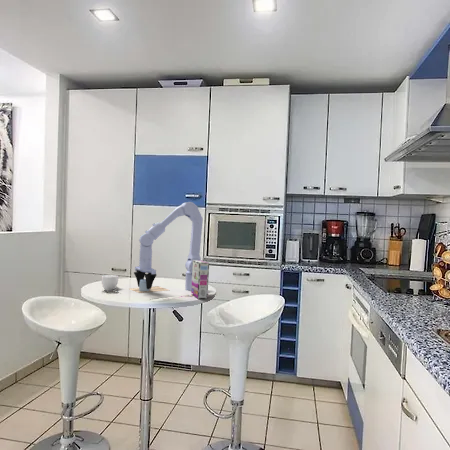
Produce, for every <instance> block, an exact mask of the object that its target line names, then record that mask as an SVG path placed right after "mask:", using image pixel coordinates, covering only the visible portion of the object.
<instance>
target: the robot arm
mask: <svg viewBox="0 0 450 450" xmlns="http://www.w3.org/2000/svg"><path fill="white" fill-rule="evenodd" d="M183 216H185V217H187V218H188V219H189V220H190V221H191V232H190V244H189V253H188V256H187V260H186V261H185V266H184V267H185V269H186V271H185V283H184V284H185V287H184V288H185V289H184V290H185V291H187V292H189V291H190V292H191V288H192V267H193V260H200V261H202V260H201V259H202V258H201V256H200V255H201V252H200V251H201V243H202V241H201V240H202V231H203V221H204V220H203V216H202V213H201V211H200V209H199V206H198V205H196V204H195V203H194V202H192V201H188V202H187V201H186V202H183V203H181V205H178V206H177V207H176V208H174V210H172V211H171V212H170V213H169V214H168V215H167V216H166V217H165V218H164V219H163V220H162V221H160V222H158V221H157V222H156V223H152V226H151V227H150V228H149V229H148V230H145V231H144V232H145V233H143V234H142V235H140V237H139V239H138V241H139V243H140V245H139V259H138V260H139V261H138V263H139V264H138V266H134V272H133V275H134V276H135V278H136V282H137V288H139V282H140V279H146V287H147V289H151V287H153V283H154V280H156V277H157V270H156V269H154V268H152V261H153V259H152V258H153V250H152V249H153V248H152V247H153V243H154V241H155V240H157V239H158V238H159V237H161V236H162V235H163V234H164V233H165V232H166V227H168V226H169V225H170V224H171V223H172V222H173V221H174V220H176V219H177V218H180V217H183Z"/></svg>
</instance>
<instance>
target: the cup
mask: <svg viewBox="0 0 450 450" xmlns="http://www.w3.org/2000/svg"><path fill="white" fill-rule="evenodd" d="M118 284H119V275H118V274H117V275H116V274H105V275H101V285H102V287H103V290H104V291H106V292H107V291H109V292H111V291H115V289H116V288H117V286H118Z"/></svg>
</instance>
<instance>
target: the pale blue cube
mask: <svg viewBox="0 0 450 450" xmlns="http://www.w3.org/2000/svg"><path fill="white" fill-rule="evenodd" d="M138 288H139V291H149V290H150V289H147V287H146V278H144V279H140V282H139V287H138Z"/></svg>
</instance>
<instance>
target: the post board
mask: <svg viewBox="0 0 450 450" xmlns="http://www.w3.org/2000/svg"><path fill="white" fill-rule="evenodd" d="M129 290H130V291H133V292H136V293H138V294H145V293H155V292H167V291H169V289H167V288H164V287H161V286H152V287H151V289H150V290H149V291H139V287H133V288H129Z"/></svg>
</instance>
